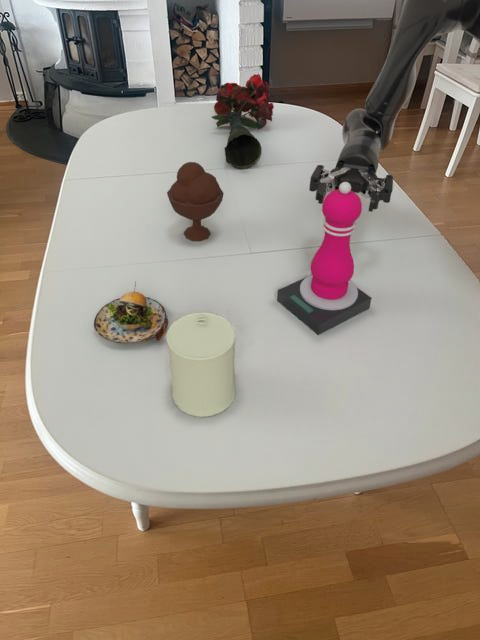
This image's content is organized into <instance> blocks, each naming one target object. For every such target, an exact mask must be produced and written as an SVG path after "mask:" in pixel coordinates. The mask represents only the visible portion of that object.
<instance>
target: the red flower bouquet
mask: <svg viewBox="0 0 480 640" xmlns="http://www.w3.org/2000/svg"><path fill="white" fill-rule="evenodd" d="M269 91H270V86H269V84H268V82H267V81H265V82H264V80H263V78H262V75H260V73H258V74H256V73H255V74H253V75H251V76H250V77H249V79H248V80H247V81H246V83H245V86H241V85H240V84H238V83H236V82H225V83H224V84H221V85H220V87H219V89H218V91H217V93H216V98H215V100H216V102H215V103H214V106H213V110H214V112H215V115H212V116H211V119H213V120H216V123H215V124H216V125H215V126H216V127H217V128H219V127H222V126H225V125H227V124H229V127H230V131H229V135H228V138H227V143H226V146H224V155H225V162H226V163H227V164H229V165H231V166H232V167H233V168H235V169H238V170H247V169H249V168H251V167H253V166H254V165H256V164H257V163H258V162H259V161H260V159H261V157H262V149H263V148H262V145H261V143H260V141H259V140H258V138H256V137H255V135H254V134H252V133H251V132H250V131H249V129H254V130H255V129H257V130H260V129H262V128H264V127H266V125H267V123H268V121H270V122H273V115H274V111H273V110H274V108H275V106H274V103H273V102H269V101H270V99H271V96H270V94H269ZM243 113H244V114H243ZM247 115H248V116H250V117H251V118H250V117H248V116H247ZM252 118H254V119H255V121H254V120H253V119H252ZM247 128H249V129H247Z"/></svg>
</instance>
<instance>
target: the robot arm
mask: <svg viewBox="0 0 480 640" xmlns="http://www.w3.org/2000/svg"><path fill="white" fill-rule="evenodd" d="M459 30H460V31H462V32H464V33H466V34H468V35H470V36H471V37H472V38H473V39H474V40H475V41H476V42H478V44H480V0H405V2H404V4H403V7H402V9H401V14H400V16H399V20H398V23H397V26H396V28H395V31H394V33H393V38H392V41H391V44H390V47H389V50H388V53H387V56H386V59H385V61H384V64H383V66H382V68H381V70H380V72H379V74H378V76H377V77H376V80H375V82H374V83H373V85H372V87H371V89H370V91H369V93H368V95H367V97H366V99H365V102H364V108H355V109H353V110H351V111H350V112H349V113H348V114H347V115H346V117H345V119H344V121H343V125H342V132H341V135H342V141H343V145H344V146H343V147H342V148H341V151H340V153H339V156H338V159H337V162H336V163H335V167H334V168H332V169H331V170H328V169H325V167H324V165H323V164H317V165H316V167H315V168H314V170H313V172H312V174H311V176H310V179H309V189H308V190H309V191H310V192H315V201H317V204H319V205H323V201H324V199H325V197H326V196H327V195H328V194H329V193H330V192H332V191H334V190H337V189H339V186H340V184H341V183H343V182H348V183H349V184H350V185H351V191H353V192H354V193H356V194H360V195H361V196H362V197H363V198H364V199H367V200H368V199H369V200H370V201H369V205H368V210H367V211H368V212H371V213H373V212H374V211H375V210H377V209H379V204H380V203H379V202H381V201H382V202H383V203H384V204H389V203H390V202H391V196H392V192H393V190H394V176H393V175H392V174H386V175H385V177H378V175H377V170H378V169H379V163H380V153H381V152H383V151H384V150H386V149H387V148H388V146H389V144H390V143H391V140H392V137H393V133H394V129H395V122H396V120H397V118H398V115H399V114H400V112H401V110H402V109H403V107H404V105H405V104H406V102H407V101H408V99H409V98H410V97H411V95H412V92H413V90H414V87H415V84H416V80H417V61H418V58H419V56H420V55H421V54H422V52H423V51H424V50H425V48H426V47H427V46H428V45H429V44H430V42H431V41H432V40H433V39H434V38H436V37H440V36H444V35H446V34H449V33H452V32H456V31H459Z"/></svg>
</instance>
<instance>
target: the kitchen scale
mask: <svg viewBox="0 0 480 640" xmlns="http://www.w3.org/2000/svg"><path fill="white" fill-rule="evenodd" d="M312 277H313V275H312V274H310V275H308V276H305V277H303V278H301V279H298V280H297V281H294V282H292V283H289V284H288V285H286V286H284V287H280V288H278V289H277V292H276V293H277V294H276V301H277V302H278V303H279V304H280V305H282V306H283V307H284V308H285V309H286V310H287V311H289V312H290V314H292V315H294V317H296V318H297V319H298V320H299V321H301V322H302V323H303V324H304V325H305V326H307V327H308V328H309V329H310V330H311V331H313V332H314V333H315V334H316V335H318V336H319V335H321V334H323V333H325V332H327V331H329V330H331V329H333V328H335V327H336V326H338V325H340V324H342V323H344V322H346V321H348V320H350V319H352V318H353V317H356V316H358V315H359V314H361V313H363V312H366V311H367V310H370V307H371V304H372V303H371V302H372V297H371V296H370V295H368V294H367V293H365V292H364V291H363V290H361V289H360V288H358V287H357V286H356V284H355V283H354V282H353V281H352V279H350V280H349V281H348V289H347V293H346V294H345V296H343V297H342V298H339V299H335V300H328V299H323V298H320V297H318V296H317V295H315V294H314V293H313V291H312V289H311V283H312Z"/></svg>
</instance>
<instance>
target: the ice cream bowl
mask: <svg viewBox="0 0 480 640" xmlns="http://www.w3.org/2000/svg"><path fill="white" fill-rule="evenodd" d="M220 186H221V185H220V184H219V182H218V180H217V177H215V176H214V175H213V174H212V173H209V172H206V170H205V169H204V168H203V166H202V165H201V164H200V163H198V162H196V161H188V162H185V163H183V164H182V165H181V166H180V167H179V168H178V170H177V172H176V180H175V181H174V183H172V185H171V186H170V188H169V190H168V191H166V194H167V197H168V200H169V203H170V205H171V207H172V209H173V211H174V212H175V214H177V215H179V216H180V217H183V218H185V219H187V220H191V221H192V225H191V226H189V227H187V228H186V229H185V230H184V233H183V235H184V238H185V239H186V240H189V241H190V242H202V241H205V240H207V239H209V238H210V236H211V232H210V229H209V228H208V227H206V226H204V225H202V220H204V219H206V218H209V217H211V216H212V215H213V214H215V212H216V211H217V210H218V208H219V207H220V206H221V204H222V202H223V200H224V199H223V198H224V195H225V194H224V191H223V190H222V188H221V187H220Z"/></svg>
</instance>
